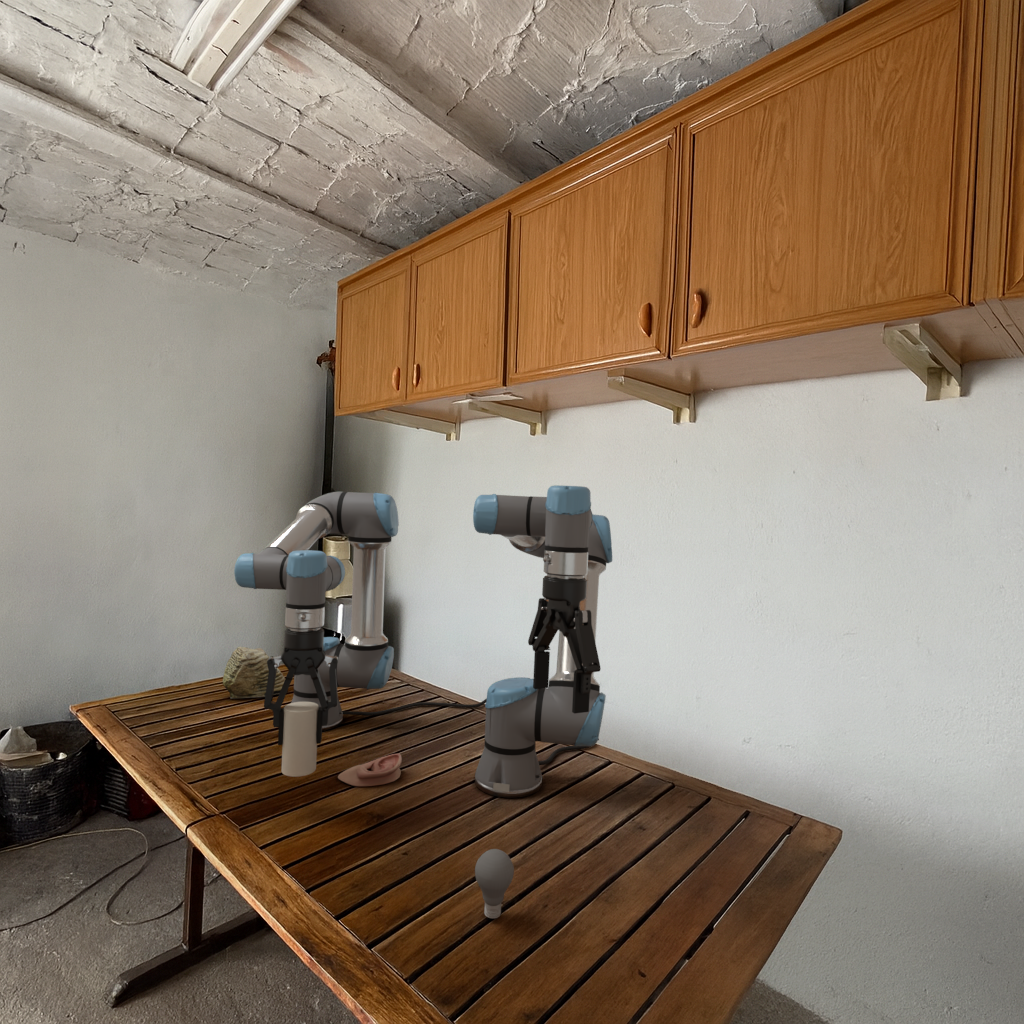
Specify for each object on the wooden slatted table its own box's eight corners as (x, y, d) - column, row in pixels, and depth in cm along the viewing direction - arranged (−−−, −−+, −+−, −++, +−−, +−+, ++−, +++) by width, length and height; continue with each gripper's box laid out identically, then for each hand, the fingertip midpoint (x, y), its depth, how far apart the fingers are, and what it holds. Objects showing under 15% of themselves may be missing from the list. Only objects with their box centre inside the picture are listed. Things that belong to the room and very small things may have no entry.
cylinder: (314, 775, 125) (317, 711, 125) (279, 777, 123) (281, 712, 123) (317, 762, 131) (319, 700, 131) (283, 763, 130) (286, 701, 130)
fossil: (218, 695, 195) (220, 647, 195) (278, 685, 208) (279, 640, 207) (228, 703, 189) (230, 653, 188) (289, 692, 201) (290, 645, 201)
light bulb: (472, 903, 100) (475, 841, 100) (510, 903, 101) (513, 841, 101) (473, 929, 94) (476, 863, 94) (513, 928, 95) (516, 862, 95)
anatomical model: (331, 765, 140) (354, 745, 151) (331, 782, 140) (354, 762, 151) (388, 772, 137) (407, 752, 148) (387, 791, 137) (406, 769, 148)
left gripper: (249, 631, 121) (244, 751, 122) (354, 631, 126) (349, 747, 126) (256, 624, 129) (251, 736, 129) (355, 624, 133) (350, 733, 133)
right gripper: (513, 567, 118) (508, 681, 118) (585, 586, 95) (579, 726, 96) (548, 567, 121) (543, 677, 121) (626, 585, 99) (620, 721, 99)
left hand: (300, 741), depth 127 cm, fingers closed on cylinder, 7 cm apart
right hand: (559, 699), depth 109 cm, fingers open, 13 cm apart
